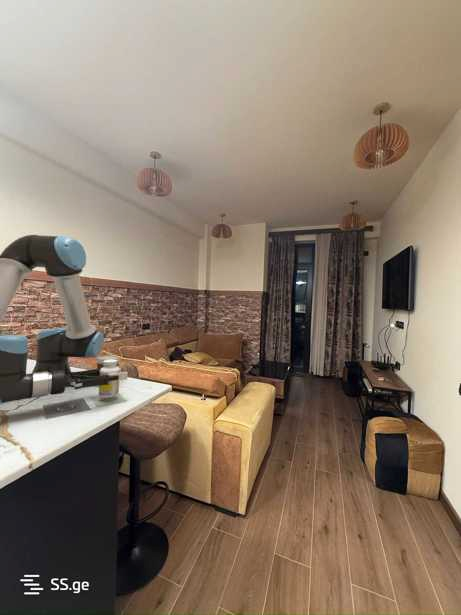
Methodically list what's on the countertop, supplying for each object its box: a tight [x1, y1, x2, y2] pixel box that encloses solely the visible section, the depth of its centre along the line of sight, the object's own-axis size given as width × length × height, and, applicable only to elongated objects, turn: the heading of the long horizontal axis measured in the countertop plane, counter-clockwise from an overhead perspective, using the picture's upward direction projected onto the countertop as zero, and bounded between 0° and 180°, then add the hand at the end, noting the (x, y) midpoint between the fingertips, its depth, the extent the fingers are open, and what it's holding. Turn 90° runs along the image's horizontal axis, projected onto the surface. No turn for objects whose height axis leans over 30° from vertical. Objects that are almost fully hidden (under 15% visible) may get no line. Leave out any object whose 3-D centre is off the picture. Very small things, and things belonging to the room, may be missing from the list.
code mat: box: [42, 397, 92, 420], centre depth 80 cm, size 12×12×1 cm
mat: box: [90, 393, 128, 408], centre depth 89 cm, size 10×10×1 cm
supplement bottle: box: [98, 359, 120, 398], centre depth 89 cm, size 7×7×13 cm
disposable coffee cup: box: [95, 355, 121, 370], centre depth 105 cm, size 10×10×12 cm
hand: (123, 373), depth 92 cm, fingers closed on supplement bottle, 7 cm apart
